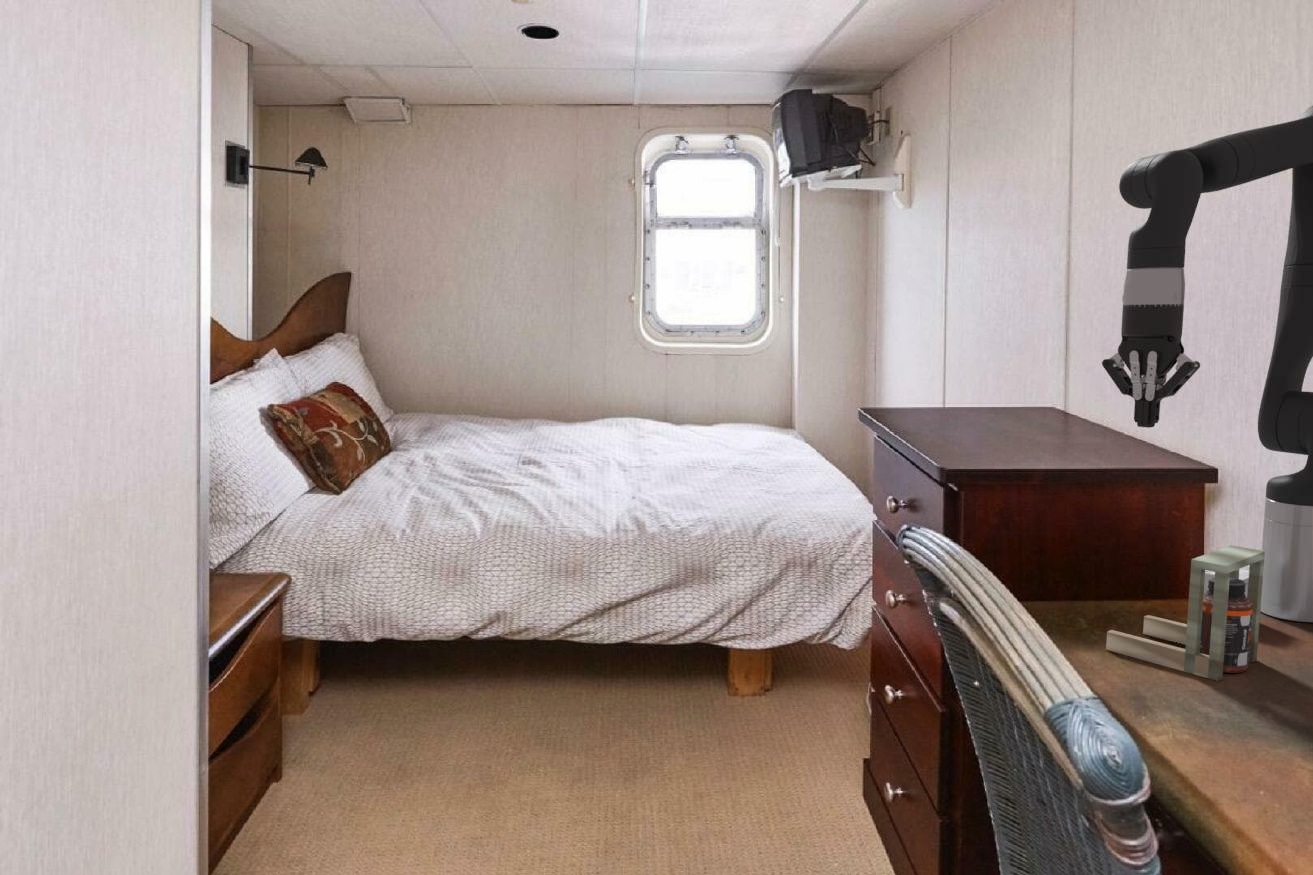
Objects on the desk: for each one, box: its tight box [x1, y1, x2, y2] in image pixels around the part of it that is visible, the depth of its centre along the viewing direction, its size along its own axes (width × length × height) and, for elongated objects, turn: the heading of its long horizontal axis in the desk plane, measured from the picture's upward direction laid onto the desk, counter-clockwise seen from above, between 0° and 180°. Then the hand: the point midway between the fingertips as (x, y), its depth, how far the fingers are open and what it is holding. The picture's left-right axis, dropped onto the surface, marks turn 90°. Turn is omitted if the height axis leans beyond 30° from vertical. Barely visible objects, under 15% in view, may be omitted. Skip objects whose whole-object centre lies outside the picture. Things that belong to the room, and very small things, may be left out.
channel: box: [1105, 545, 1265, 682], centre depth 124 cm, size 11×14×14 cm
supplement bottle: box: [1200, 577, 1253, 674], centre depth 120 cm, size 6×6×11 cm
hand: (1145, 426), depth 133 cm, fingers closed
